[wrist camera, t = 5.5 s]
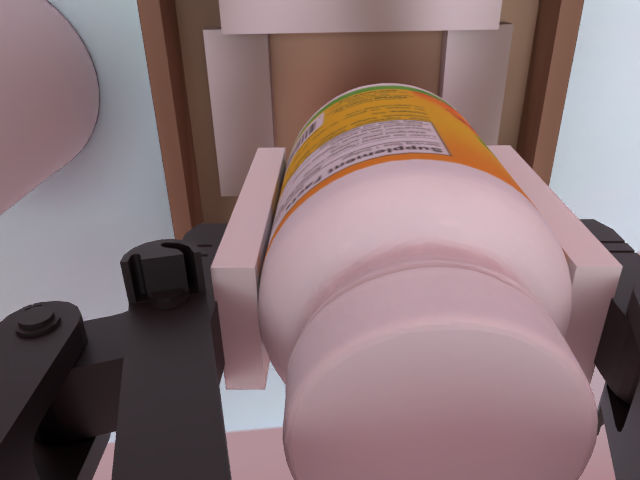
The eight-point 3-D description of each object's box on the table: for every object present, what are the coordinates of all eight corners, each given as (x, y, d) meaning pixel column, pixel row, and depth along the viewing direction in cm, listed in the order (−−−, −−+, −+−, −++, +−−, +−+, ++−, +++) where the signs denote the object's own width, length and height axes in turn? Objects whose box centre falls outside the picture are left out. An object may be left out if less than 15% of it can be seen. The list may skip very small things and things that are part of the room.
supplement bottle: (489, 236, 16) (661, 552, 8) (315, 274, 17) (294, 598, 8) (463, 54, 14) (672, 214, 5) (263, 107, 15) (158, 322, 6)
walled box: (195, 246, 28) (179, 280, 25) (150, -71, 21) (121, -76, 18) (512, 242, 27) (534, 277, 24) (565, -80, 21) (604, -86, 18)
